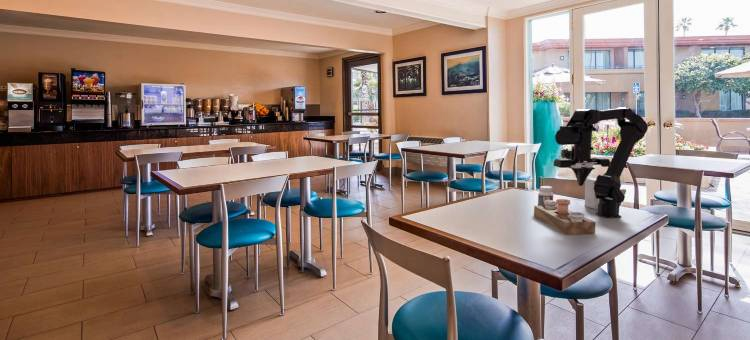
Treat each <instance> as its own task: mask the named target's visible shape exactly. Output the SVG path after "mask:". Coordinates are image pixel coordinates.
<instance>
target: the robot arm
mask: <svg viewBox="0 0 750 340" xmlns="http://www.w3.org/2000/svg"><path fill="white" fill-rule="evenodd" d="M610 120H616V121H617V122H616V124H617V126H618V127H619V128H620V129H619V136H620V140H619V143H618V145H617V147H616V150H615V152H614V154H613V157H612V158H611V160H610V159H609V158H606V157H592V151H594V147H593V146H592V141H593V132H598V129H597V128H596V127H595V125H596V124H598V123H599V122H602V121H610ZM648 129H649V126H648V123H647V122H646V120H644V119H643V117H642V116H640V115H639V114H637V113H636V112H634V110H632V108H629V107H617V108H610V109H609V108H608V109H602V110H601V109H591V108H590V109H588V108H587V109H583V108H582V109H576V110H574V112H573V114H572V115H571V117H570V119H569V121H568V122H567V123H566V125H560V126H559V129H558V130H557V131H556V133H555V135H554V139H555V142H556V143H557V144H558V145H559V146H565V145H566V146H567V145H573V146H571V150H569V149H567V148H565V149H561V152H560V157H561V158H555V159H554V161H553V167H555V168H561V169H564V168H565V169H571V170H572V172H573V173H574V175H575V178H576V181H577V184H578V186H579V187H580V186H581V187H582V186H583V185H585V180H586V179H587V178H588V177H589V176H590V174H591V172H592V171H593V170H595V169H596V168H595V167H594V166H597V165H599V166H601V167H604V168H605V167H606V168H607V169H606V171H605V173H603V174H598V175H597V177H596V178H595V179H596V181H595V183H594V184H595V185H594V188H593V189H594V192H595V196H596V198H597V199H599V203H598V209H597V212H595V214H596V215H598V216H600V217H603V218H609V219H610V218H622V215H620V205H621V204H620V203H623V202H624V201H625V198H626V196H625V194H624V193H623V191H621V186H622V184H621V176H622V173H623V171H624V170H625V166H626V164H627V162H628V160H629V158H630V157H631V156H630V155H631V153H632V151H633V149H634V147H635V145H636V143H638V142H639V141H641V140H642V139H643V138H644V137H645V135H646V133H647V132H648Z"/></svg>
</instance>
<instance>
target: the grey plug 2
mask: <svg viewBox="0 0 750 340" xmlns="http://www.w3.org/2000/svg"><path fill="white" fill-rule="evenodd" d="M569 217H570V218H571V220H570V221H571V222H582V219H583V218H584V217H585V213H583V212H581V211H573V212H570V213H569Z"/></svg>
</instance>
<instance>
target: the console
mask: <svg viewBox="0 0 750 340" xmlns="http://www.w3.org/2000/svg"><path fill="white" fill-rule="evenodd" d="M533 206H534V208H533V217H535V218H537V219H538V220H540V221H543V222H544V223H546V224H547V225H549V226H551V227H553V228H554V229H556V230H557V231H558V232H560V233H562V234H564V235H591V234H593V235H594V234H596V225H597V224H596V223H597V222H596V221H594V220H592V219H590V218H588V217H586V216H584V218H583V219H582V222H571V221H570V220H571V218H570V217H569V213H570V212H574V211H573V210H571V209H569V208H568V215H558V214H557V205H556V206H555V209H546V208H545V206H538V205H533Z"/></svg>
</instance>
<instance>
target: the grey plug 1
mask: <svg viewBox="0 0 750 340" xmlns="http://www.w3.org/2000/svg"><path fill="white" fill-rule="evenodd" d="M544 205H545V208H546V209H555V206H556V205H557V204H556V200H554V199H553V200H545V201H544Z"/></svg>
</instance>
